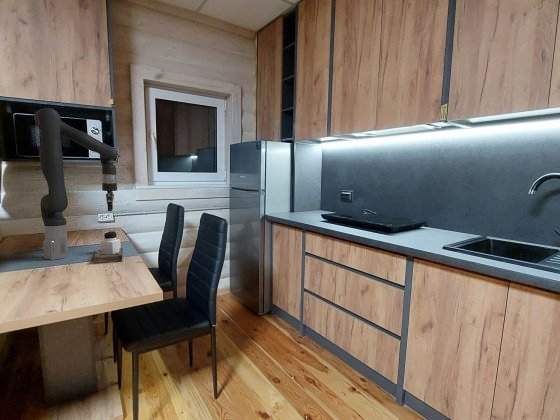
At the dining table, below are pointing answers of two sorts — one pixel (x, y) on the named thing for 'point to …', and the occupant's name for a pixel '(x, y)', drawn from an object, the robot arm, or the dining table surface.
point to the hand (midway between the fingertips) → (110, 210)
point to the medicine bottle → (110, 243)
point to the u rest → (108, 257)
